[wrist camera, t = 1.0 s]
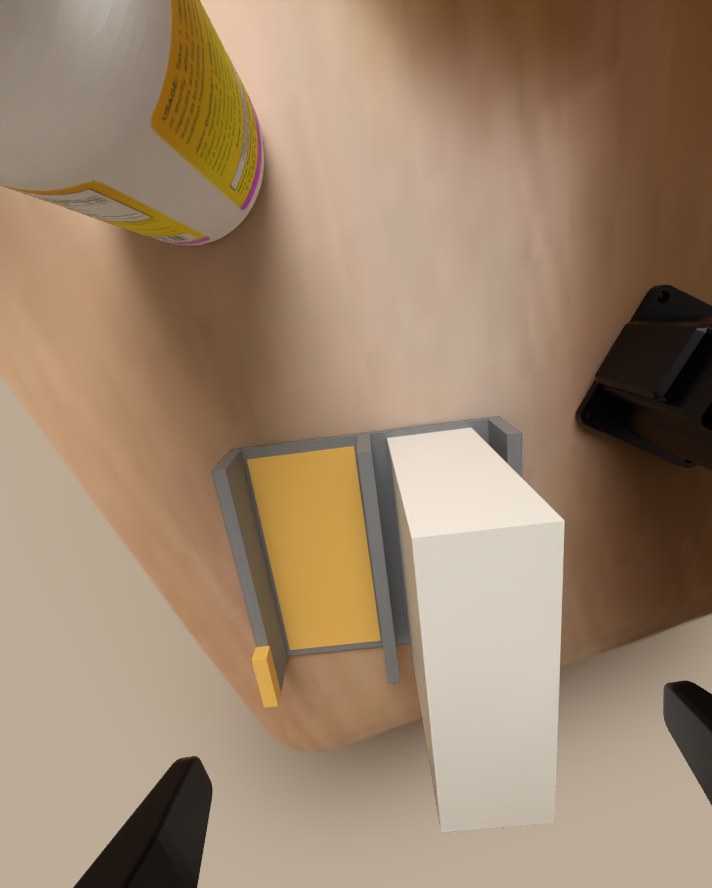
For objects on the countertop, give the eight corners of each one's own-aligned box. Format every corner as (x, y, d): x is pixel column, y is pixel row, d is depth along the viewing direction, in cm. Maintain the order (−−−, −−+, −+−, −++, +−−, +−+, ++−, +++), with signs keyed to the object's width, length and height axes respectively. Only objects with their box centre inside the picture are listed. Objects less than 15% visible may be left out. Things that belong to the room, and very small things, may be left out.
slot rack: (498, 416, 19) (529, 438, 16) (503, 629, 23) (529, 684, 20) (229, 449, 20) (203, 478, 16) (277, 652, 24) (265, 710, 20)
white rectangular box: (471, 427, 19) (564, 520, 11) (480, 631, 23) (554, 823, 14) (386, 437, 19) (411, 538, 11) (409, 639, 23) (441, 833, 14)
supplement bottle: (199, 8, 15) (-575, -1496, 2) (300, 189, 16) (142, -162, 4) (61, 122, 16) (-963, -537, 4) (169, 280, 18) (-261, 209, 5)
